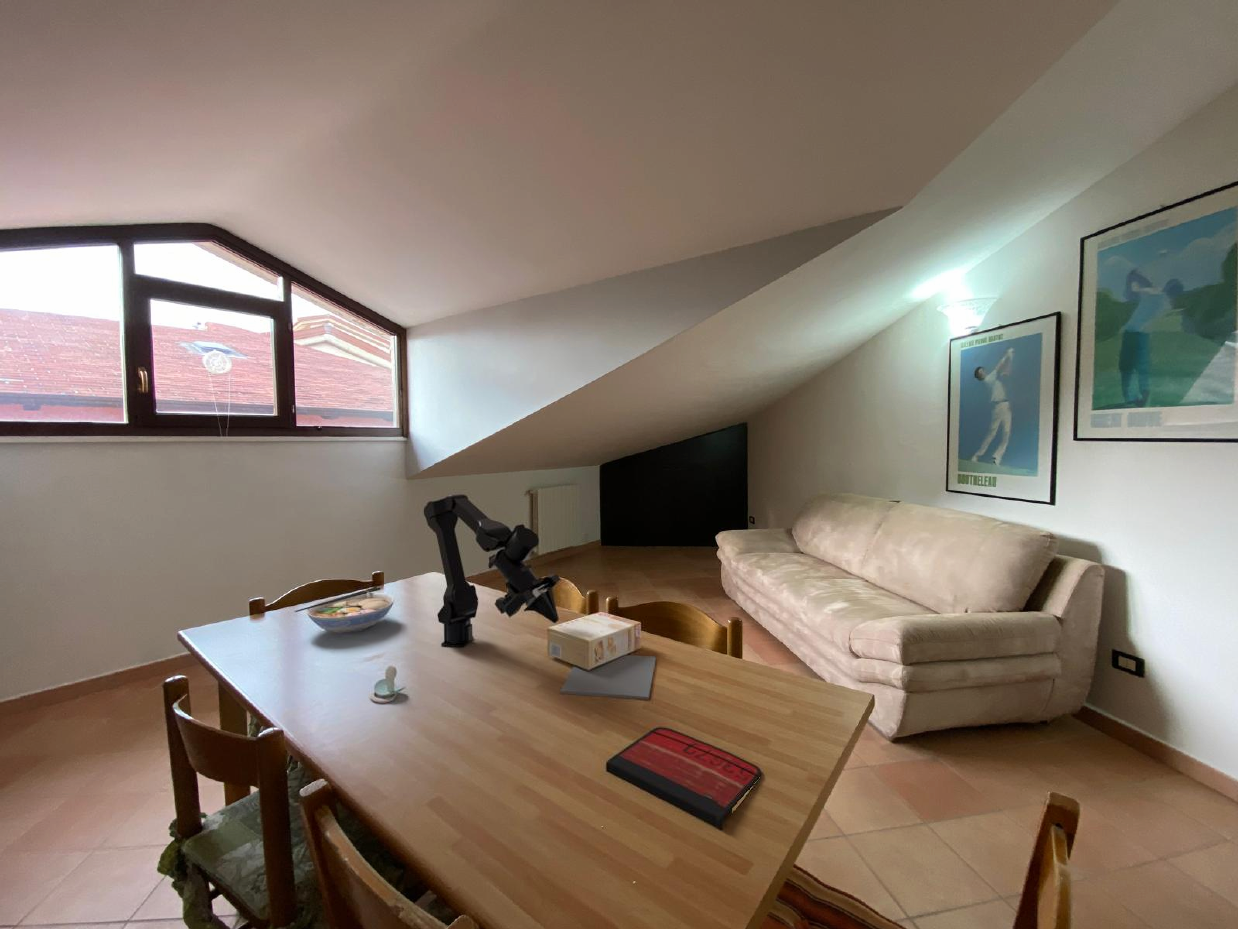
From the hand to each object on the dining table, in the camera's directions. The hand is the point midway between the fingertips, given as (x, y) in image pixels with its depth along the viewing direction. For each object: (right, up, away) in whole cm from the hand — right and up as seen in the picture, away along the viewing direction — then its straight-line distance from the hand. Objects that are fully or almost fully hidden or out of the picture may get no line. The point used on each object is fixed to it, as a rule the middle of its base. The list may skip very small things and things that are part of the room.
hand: (556, 621), depth 118 cm
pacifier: (-35, -13, -10) cm, 39 cm away
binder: (+25, -14, -35) cm, 46 cm away
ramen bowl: (-63, -11, +29) cm, 70 cm away
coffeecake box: (+2, -7, +3) cm, 8 cm away
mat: (+13, -12, -1) cm, 18 cm away
